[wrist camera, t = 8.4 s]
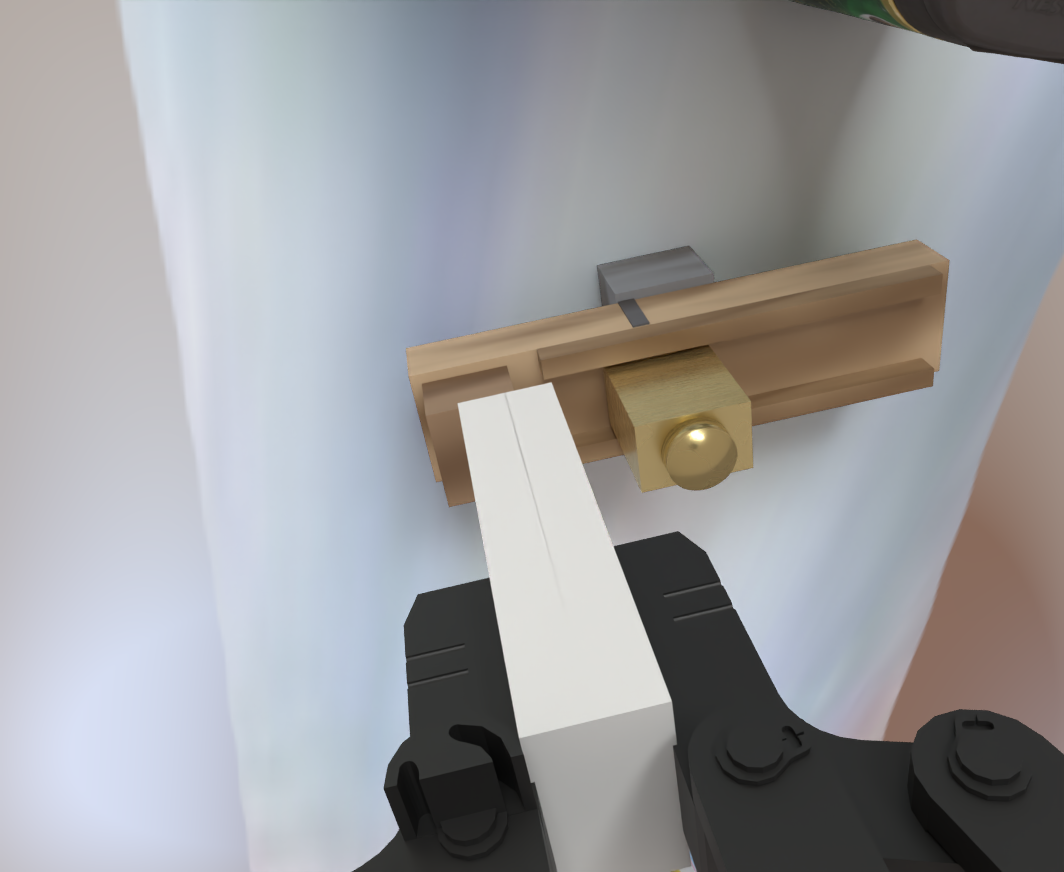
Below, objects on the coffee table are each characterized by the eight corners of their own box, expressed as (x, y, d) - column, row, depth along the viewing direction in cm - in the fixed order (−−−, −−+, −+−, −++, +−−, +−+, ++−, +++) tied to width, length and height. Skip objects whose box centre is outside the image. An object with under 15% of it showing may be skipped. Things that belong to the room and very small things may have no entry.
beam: (400, 306, 48) (408, 398, 39) (879, 205, 49) (987, 273, 40) (429, 420, 51) (442, 526, 43) (873, 323, 53) (971, 408, 44)
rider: (602, 362, 43) (640, 439, 37) (705, 340, 43) (759, 412, 37) (610, 423, 45) (647, 506, 39) (708, 401, 45) (761, 480, 39)
